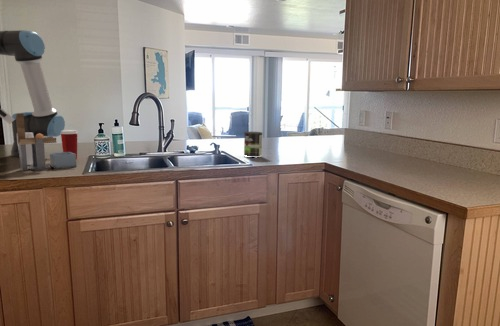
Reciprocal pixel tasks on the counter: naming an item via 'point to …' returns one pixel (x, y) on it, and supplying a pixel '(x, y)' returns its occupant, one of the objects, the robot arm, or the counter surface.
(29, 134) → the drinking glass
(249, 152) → the coffee can
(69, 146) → the coffee cup
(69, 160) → the grey rounded block
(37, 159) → the pivot stand
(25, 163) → the post
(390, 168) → the counter surface
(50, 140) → the lever
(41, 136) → the ball
